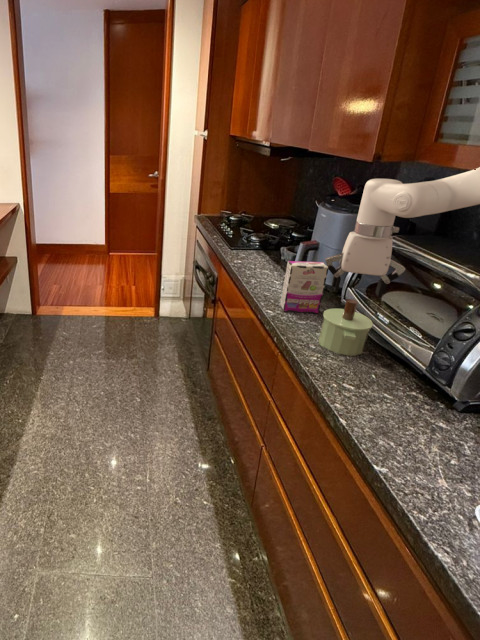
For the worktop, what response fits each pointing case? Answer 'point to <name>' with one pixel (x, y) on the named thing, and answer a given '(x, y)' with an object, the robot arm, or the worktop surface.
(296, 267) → the candy bar box
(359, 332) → the pot
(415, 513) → the worktop surface
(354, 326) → the lid
